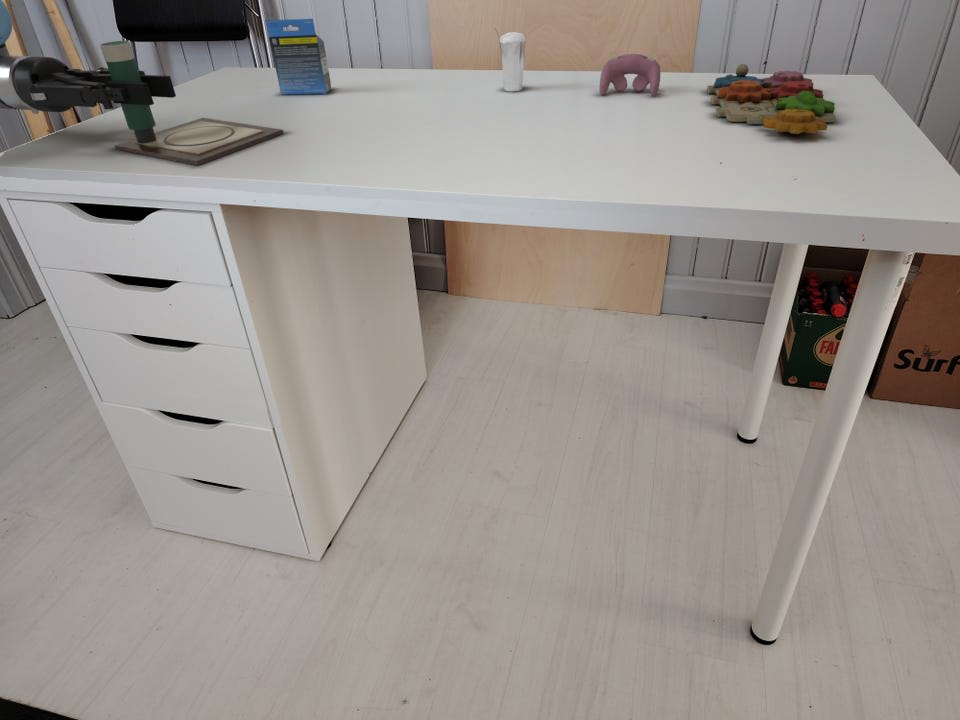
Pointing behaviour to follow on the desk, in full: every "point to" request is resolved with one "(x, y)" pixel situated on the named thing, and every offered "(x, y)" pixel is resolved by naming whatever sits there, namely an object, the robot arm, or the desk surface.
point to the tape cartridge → (298, 57)
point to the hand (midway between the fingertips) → (159, 90)
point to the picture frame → (201, 140)
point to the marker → (127, 71)
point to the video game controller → (630, 65)
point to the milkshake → (512, 59)
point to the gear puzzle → (772, 101)
